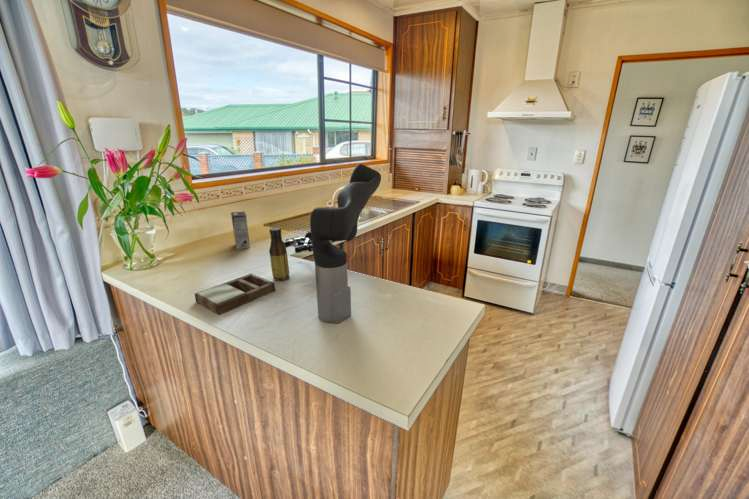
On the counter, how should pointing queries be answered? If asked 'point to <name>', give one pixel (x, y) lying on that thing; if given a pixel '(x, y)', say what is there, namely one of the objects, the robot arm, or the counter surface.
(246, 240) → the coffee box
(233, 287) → the board
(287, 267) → the sauce bottle
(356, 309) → the counter surface
